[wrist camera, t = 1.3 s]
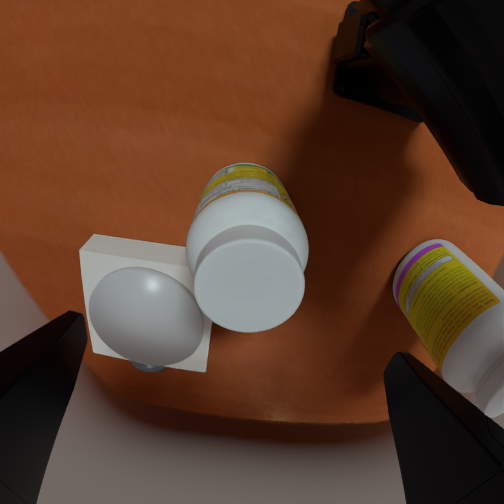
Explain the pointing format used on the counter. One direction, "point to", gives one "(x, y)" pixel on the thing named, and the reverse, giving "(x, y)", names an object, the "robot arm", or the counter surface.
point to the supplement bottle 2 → (456, 319)
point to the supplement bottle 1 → (247, 250)
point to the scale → (143, 304)
